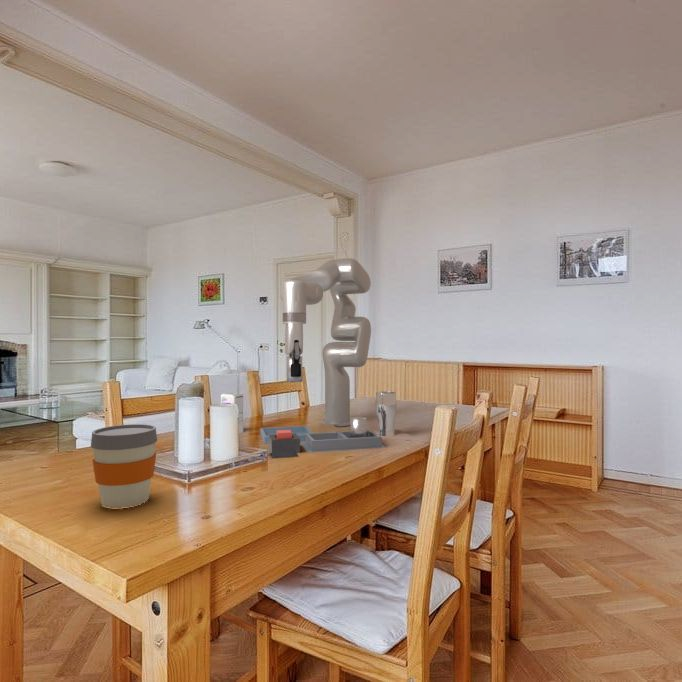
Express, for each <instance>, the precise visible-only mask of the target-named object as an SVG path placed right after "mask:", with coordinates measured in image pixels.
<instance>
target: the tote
mask: <svg viewBox="0 0 682 682" xmlns="http://www.w3.org/2000/svg"><path fill="white" fill-rule="evenodd" d="M277 430H291V432H292V433H296V434H297V435H298V437H299V438H300V443H305V434H308V433H313V431H311V430H310V428H309V427H307V425H293V426H291V425H290V426H275V427H260V429H259V431H260V432H259V433H260V436H261V440H262V441H263V444H264V445H269V435H272V434H276V431H277Z"/></svg>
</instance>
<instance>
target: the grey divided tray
mask: <svg viewBox="0 0 682 682" xmlns="http://www.w3.org/2000/svg"><path fill="white" fill-rule="evenodd" d="M382 439H383V436H380V435H378V434H377V432H375V431H373V430H371V429H367V437H360V438H351V436H350V430H345V431H328V432H312V433H308V434H305V442H300V446H301V447H302V448H303V449H304V450H305V452H306V453H307V454H310V453H329V452H341V451H342V452H343V451H357V450H370V449H371V450H372V449H373V450H374V449H387V448H388V447H387V446H386V445H385V444H383V442H382V441H383V440H382Z"/></svg>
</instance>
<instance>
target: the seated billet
mask: <svg viewBox="0 0 682 682" xmlns="http://www.w3.org/2000/svg"><path fill="white" fill-rule="evenodd" d="M367 418H368V417H365V416H352V417H351V416H350V425H349V427H350V430H349V431H350V436H351V438H360V437H367V430H368V419H367Z"/></svg>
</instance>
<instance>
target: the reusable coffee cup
mask: <svg viewBox="0 0 682 682" xmlns="http://www.w3.org/2000/svg"><path fill="white" fill-rule="evenodd" d="M157 434H158V433H157V428H156V426H155V425H151V424H141V423H139V424H137V423H136V424H134V423H133V424H121V425H120V424H118V425H111V426H105V427H101V428H98V429H95V430H93V431H92V432H91V439H90V440H91V441H90V447H91V449H92V450H93V452H92V453H93V459H92V467H93V473H94V479H95V483H96V484H97V485H98V489H99V491H98V492H99V497H100V504H102V505H103V506H105V507H110V508H122V507H130V506H135V505H139V504H142V503H144V502H146V501H147V500H148V499H150V491H151V490H150V489H151V482H152V478H153V477H154V476H155V475H154V474H155V466H156V459H157V458H156V457H157V453H156V452H155V449H156V448H155V447H156V443H157V442H158V436H157ZM148 501H149V500H148ZM148 501H147V502H148ZM147 502H146V503H147ZM144 504H145V503H144ZM102 505H101V506H102ZM142 505H143V504H142Z"/></svg>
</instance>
